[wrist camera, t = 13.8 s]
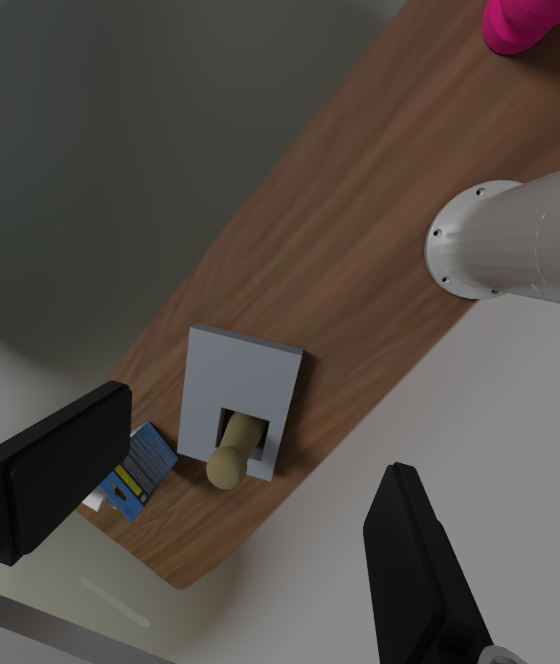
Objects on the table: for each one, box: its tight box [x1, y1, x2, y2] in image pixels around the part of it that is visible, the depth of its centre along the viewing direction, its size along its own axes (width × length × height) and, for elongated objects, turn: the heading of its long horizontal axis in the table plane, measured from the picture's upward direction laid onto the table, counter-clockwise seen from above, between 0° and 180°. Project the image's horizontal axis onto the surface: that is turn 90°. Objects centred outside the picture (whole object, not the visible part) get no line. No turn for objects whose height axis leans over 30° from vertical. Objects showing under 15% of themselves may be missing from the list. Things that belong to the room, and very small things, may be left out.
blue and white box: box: [98, 421, 178, 524], centre depth 41 cm, size 9×4×12 cm, turn 34°
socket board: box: [177, 323, 303, 482], centre depth 41 cm, size 16×22×2 cm
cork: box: [206, 411, 266, 490], centre depth 38 cm, size 6×6×11 cm
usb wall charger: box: [82, 484, 117, 511], centre depth 50 cm, size 4×7×4 cm, turn 60°
